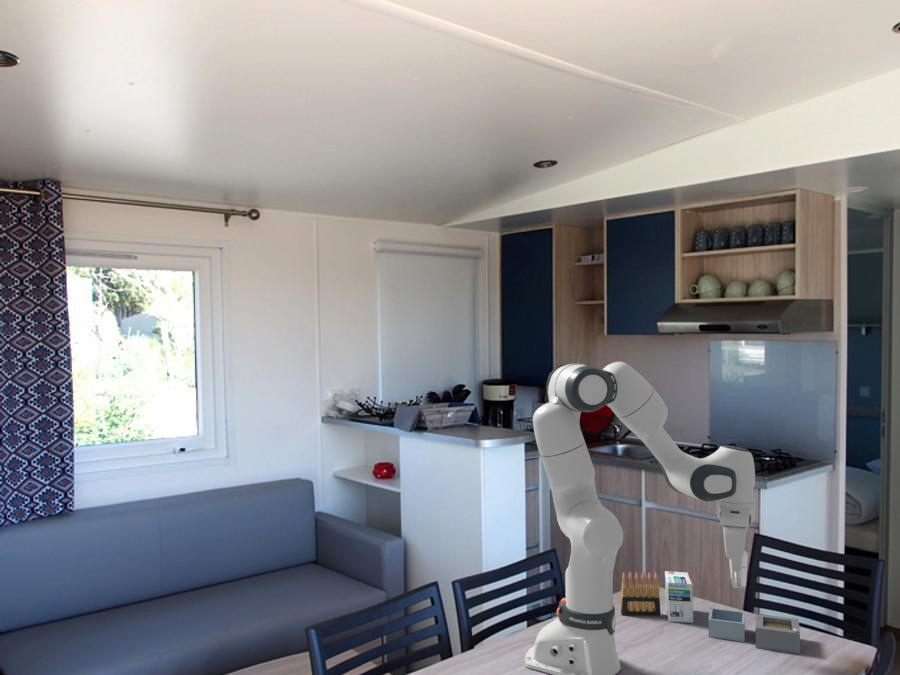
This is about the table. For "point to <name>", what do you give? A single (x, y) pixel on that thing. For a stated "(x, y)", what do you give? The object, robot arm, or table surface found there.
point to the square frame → (777, 634)
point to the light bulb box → (679, 597)
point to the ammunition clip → (640, 596)
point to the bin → (727, 624)
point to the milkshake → (739, 573)
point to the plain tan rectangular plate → (776, 625)
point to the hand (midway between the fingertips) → (736, 567)
